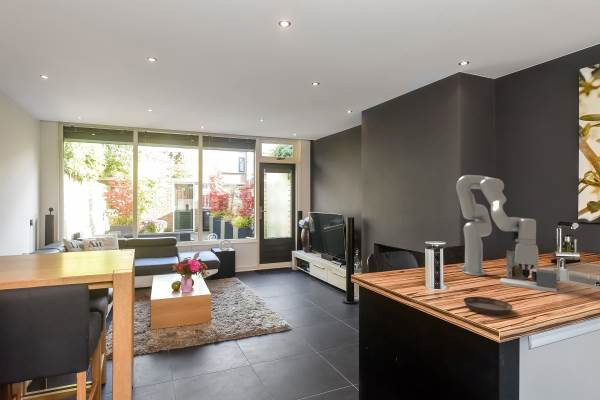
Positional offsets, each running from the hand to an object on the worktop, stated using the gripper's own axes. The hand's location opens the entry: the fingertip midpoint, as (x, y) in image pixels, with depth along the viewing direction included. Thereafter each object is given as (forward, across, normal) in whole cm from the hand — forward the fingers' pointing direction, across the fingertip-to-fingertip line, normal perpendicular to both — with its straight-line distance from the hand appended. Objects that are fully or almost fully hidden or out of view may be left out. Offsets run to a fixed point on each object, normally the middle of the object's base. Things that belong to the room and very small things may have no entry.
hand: (526, 276), depth 173 cm
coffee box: (+5, -5, +19) cm, 20 cm away
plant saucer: (+5, -12, -54) cm, 56 cm away
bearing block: (+3, +8, 0) cm, 9 cm away
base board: (+5, 0, 0) cm, 5 cm away
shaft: (+2, +8, 0) cm, 8 cm away
